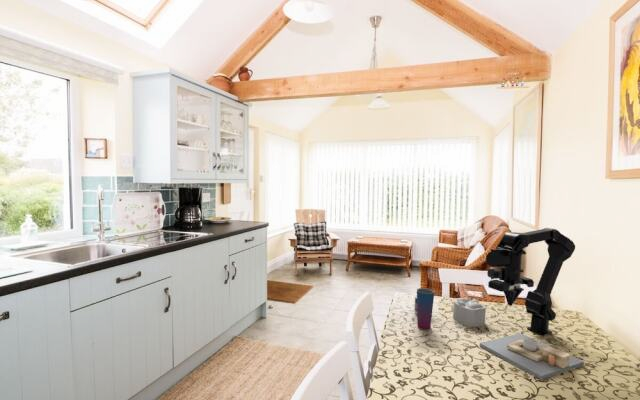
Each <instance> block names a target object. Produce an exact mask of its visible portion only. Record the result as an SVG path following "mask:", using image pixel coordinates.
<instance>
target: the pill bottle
mask: <svg viewBox="0 0 640 400" xmlns="http://www.w3.org/2000/svg"><path fill="white" fill-rule="evenodd" d="M413 311H414V313H415V314H416V315H417V294H416V295H415V297H414V310H413Z"/></svg>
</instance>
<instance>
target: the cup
mask: <svg viewBox="0 0 640 400" xmlns="http://www.w3.org/2000/svg"><path fill="white" fill-rule="evenodd" d="M416 295H417V314H416V316H417V322H416V323H417V328H418V329H422V330H424V331H425V330H426V331H428V330H431V326H432V319H433V318H432V316H433V315H432V314H433V306H434V298H435V291H434V290H433V289H430V288H427V287H426V288H425V287H421V288H417V289H416Z"/></svg>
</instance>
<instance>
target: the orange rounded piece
mask: <svg viewBox="0 0 640 400" xmlns="http://www.w3.org/2000/svg"><path fill="white" fill-rule="evenodd" d="M554 363H555V356H553V355H549V360H548V365H549V366H552V367H554Z"/></svg>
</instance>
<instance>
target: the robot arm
mask: <svg viewBox="0 0 640 400" xmlns="http://www.w3.org/2000/svg"><path fill="white" fill-rule="evenodd" d="M543 241H544V242H545V244H546V245H547V253H548V259H547V262H546V263H545V266H544V268H543V271H542V273H541V276H540V279H539V281H538V284H537V286H536V288H535V289H534V290H533V291H531V290H529V291H528V292H527V293H526V294H527V295H526V297H525V298H524V300H525V301H524V306H525V309H526V313H527V314H530V315H531V319H530V326H527V327H526V329H527V330H529V331H531V332H534V333H536V334H538V335H541V336H546V335H548V334H552V333H553V331H552V330H550V329H549V327H550V321H551V322H553V320H556V317H557V314H556V312H555V311H554V310H553V308H552V306H553V305H552V304H553V301H552V297H551V294H552V291H553V288H554V286H555V284H556V282H557V279H558V278H559V277H558V276H559V274H560V272H561V269H562V267H563V264H564V262H565V261H567V260H568V259H570V258H571V257H572V255H573V253H574V252H575V250H576V244H575V243H574V241H573V240H572V239H571V238H569V237H567V236H565V235H564V234H562V233H561V232H560V231H559V230H557V228H556V229H555V228H552V227H551V228H549V227H543V228H541V229H537V230H532V231H527V232H515V231H514V232H513V231H511V232H510V231H507V232H505V233H504V234H503V236H502V238H501V239H500V240H499V242H498V243H497V245H496V246H495V248H490V251H489V252H488V253H487V254H486V255H485V262H486V264H487V265H488V266H489V267H491V268H490V269H489V268H488V269H487V271H486V273H487V277H488V278H490V280H489V281H488V283H487V284H488V285H487V287H488V288H489V289H492V290H495V291H497V292H501V293H502V292H503V293H504V297H505V300H506V302H507V306H509V307H512V306H513V305H514V303H515V301H516V300H517V299H518V297H519V296H520V294H522V292H524V290H525V288H524V287H521V285H526V286H527V287H528V288H534V287H535V285H534V284H535V281H534V279H532V278H529V277H525V276H521V275H522V274H521V273H524V269H523V268H522V257H523V256H522V255H526V254H527V252H526V250H524V249H526V248H528V247H529V246H530V244H534V243H539V242H543ZM495 268H500V269H499V270H496V269H495Z"/></svg>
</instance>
